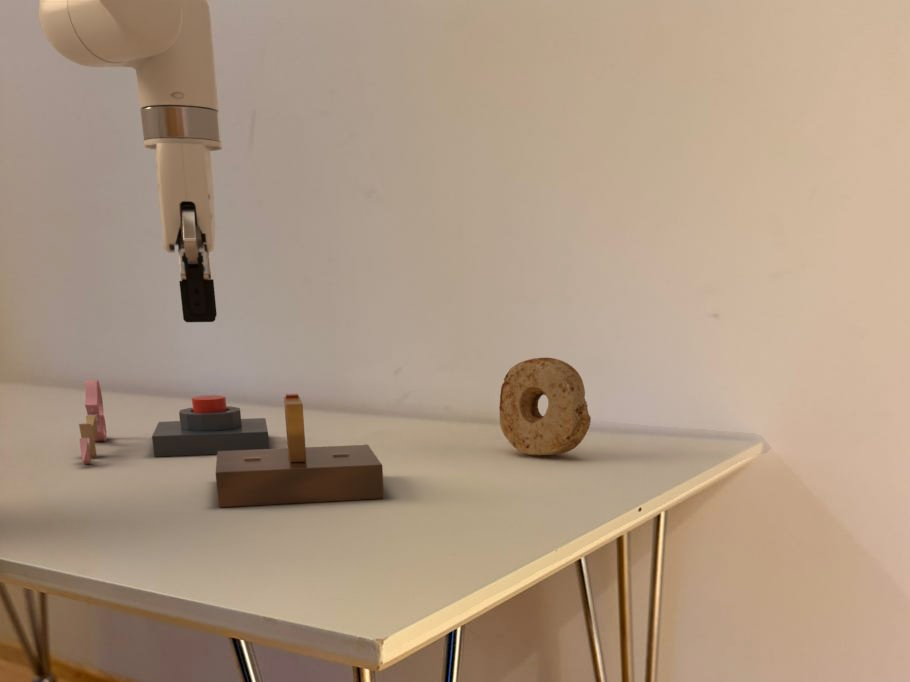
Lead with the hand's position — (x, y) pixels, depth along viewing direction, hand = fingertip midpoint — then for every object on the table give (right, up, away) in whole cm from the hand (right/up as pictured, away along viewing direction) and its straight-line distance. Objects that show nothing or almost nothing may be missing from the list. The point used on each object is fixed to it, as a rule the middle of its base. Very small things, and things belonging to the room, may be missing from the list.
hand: (200, 318), depth 105 cm
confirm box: (0, -13, +5) cm, 14 cm away
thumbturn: (+13, -18, -17) cm, 28 cm away
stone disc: (+36, -15, 0) cm, 39 cm away
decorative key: (-12, -14, +2) cm, 19 cm away
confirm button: (0, -9, +4) cm, 10 cm away
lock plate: (+13, -21, -16) cm, 30 cm away
